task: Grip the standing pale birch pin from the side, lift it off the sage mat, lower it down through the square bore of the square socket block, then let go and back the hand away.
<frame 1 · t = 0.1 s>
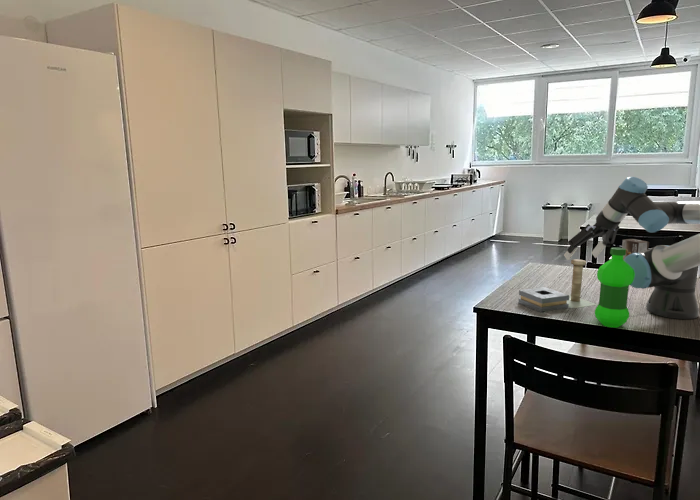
hand: (580, 256, 187), 15 cm above the table, tool tilted 35°, fingers open, 13 cm apart
square socket block: (542, 305, 176), on the table
plastic bottle: (610, 325, 156), on the table
mat: (570, 302, 180), on the table
pin: (575, 300, 181), resting on mat
coffee box: (632, 275, 221), on the table
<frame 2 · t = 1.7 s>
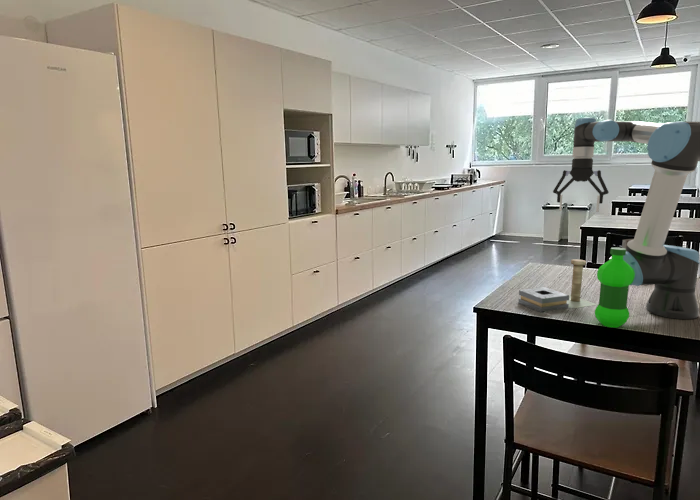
hand: (578, 211, 196), 31 cm above the table, tool pointing down, fingers open, 13 cm apart
nothing on the table moved.
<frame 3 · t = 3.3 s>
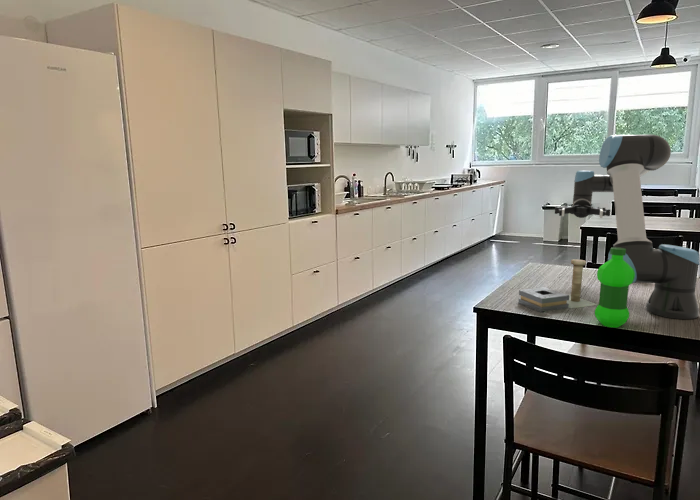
hand: (581, 213, 188), 31 cm above the table, tool horizontal, fingers open, 13 cm apart
nothing on the table moved.
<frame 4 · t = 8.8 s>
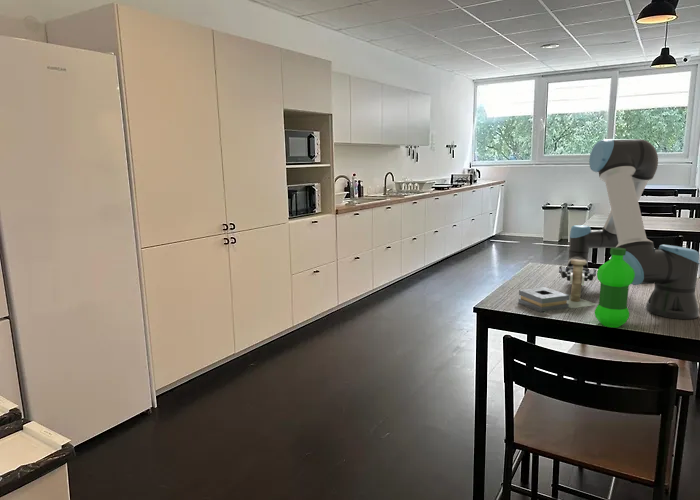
hand: (577, 280, 174), 9 cm above the table, tool horizontal, fingers closed on pin, 3 cm apart
pin: (575, 300, 181), resting on mat, touching gripper
everything else where it was.
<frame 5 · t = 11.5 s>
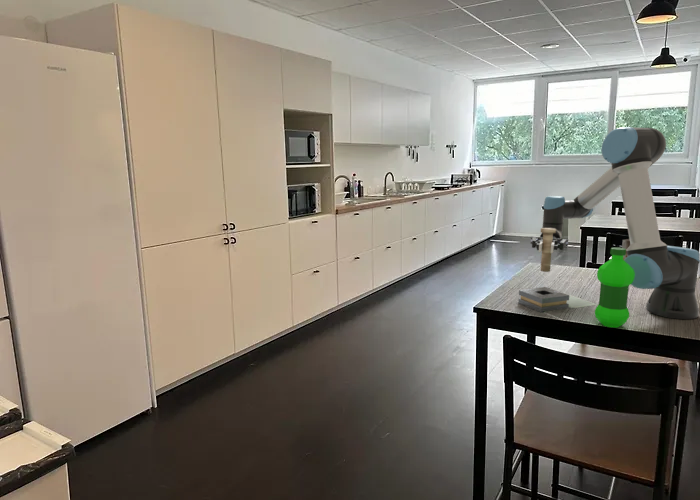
hand: (546, 248, 167), 22 cm above the table, tool horizontal, fingers closed on pin, 3 cm apart
pin: (545, 270, 174), point 13 cm above the table, touching gripper
everything else where it was.
when the fingers open (11 cm above the table, at t = 14.3 s): pin drops 2 cm, resting in square socket block.
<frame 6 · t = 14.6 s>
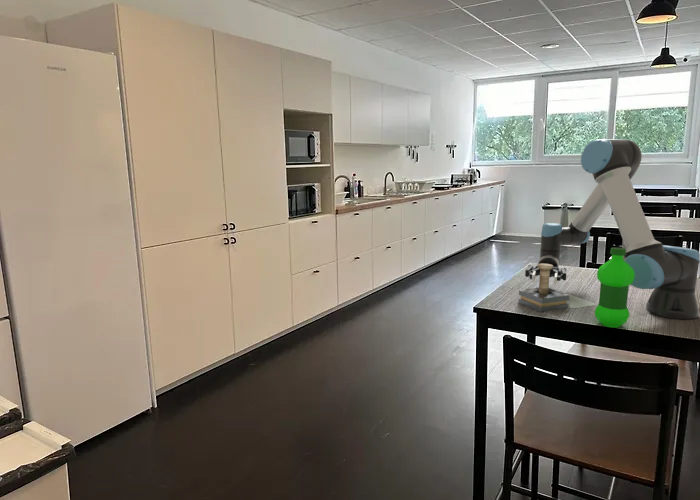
hand: (544, 279, 169), 11 cm above the table, tool horizontal, fingers open, 7 cm apart
pin: (542, 305, 176), resting in square socket block
everything else where it was.
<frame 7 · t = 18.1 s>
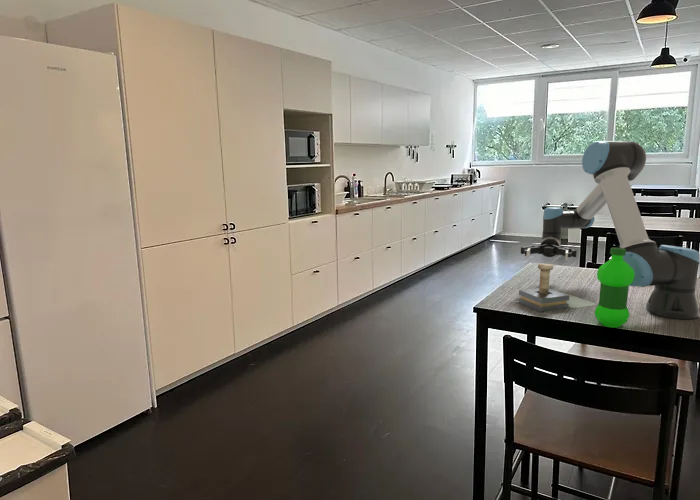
hand: (546, 255, 182), 17 cm above the table, tool horizontal, fingers open, 13 cm apart
nothing on the table moved.
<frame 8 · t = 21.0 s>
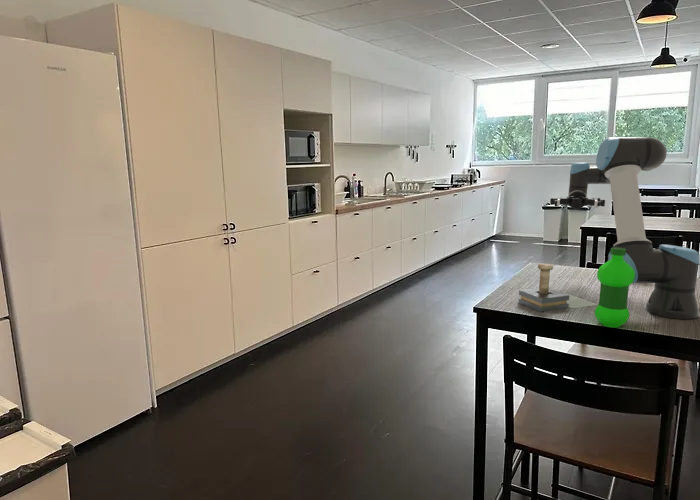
hand: (576, 203, 191), 35 cm above the table, tool horizontal, fingers open, 13 cm apart
nothing on the table moved.
at the end: pin 0.1 cm off-centre on the square socket block, point 0.0 cm above the square socket block's base; pin tilted 0°; the gripper is holding nothing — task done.
